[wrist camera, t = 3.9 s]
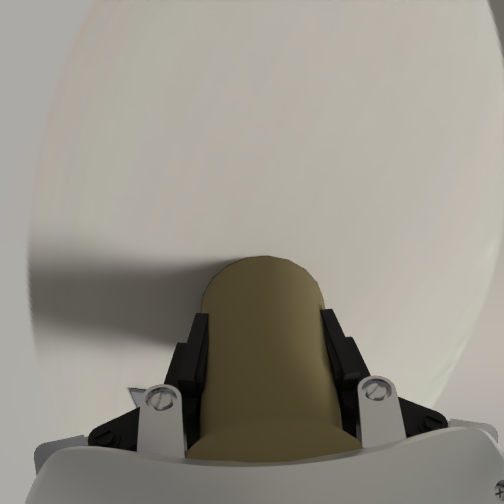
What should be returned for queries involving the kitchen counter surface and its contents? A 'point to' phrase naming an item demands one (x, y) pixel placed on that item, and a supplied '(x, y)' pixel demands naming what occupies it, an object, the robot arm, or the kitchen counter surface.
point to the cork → (267, 368)
